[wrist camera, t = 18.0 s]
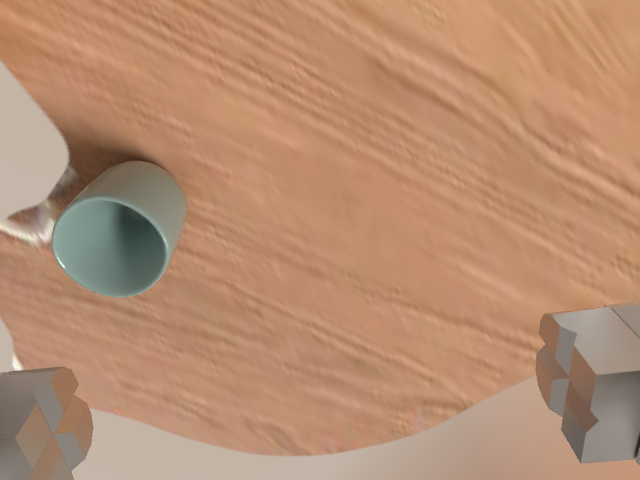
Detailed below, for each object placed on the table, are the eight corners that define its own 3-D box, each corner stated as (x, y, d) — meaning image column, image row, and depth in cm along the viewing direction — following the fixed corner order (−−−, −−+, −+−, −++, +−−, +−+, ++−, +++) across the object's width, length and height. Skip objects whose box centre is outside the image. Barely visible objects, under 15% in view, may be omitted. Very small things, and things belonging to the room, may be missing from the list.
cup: (83, 199, 44) (28, 257, 35) (132, 129, 41) (87, 172, 32) (162, 250, 46) (130, 316, 37) (213, 188, 44) (191, 243, 35)
